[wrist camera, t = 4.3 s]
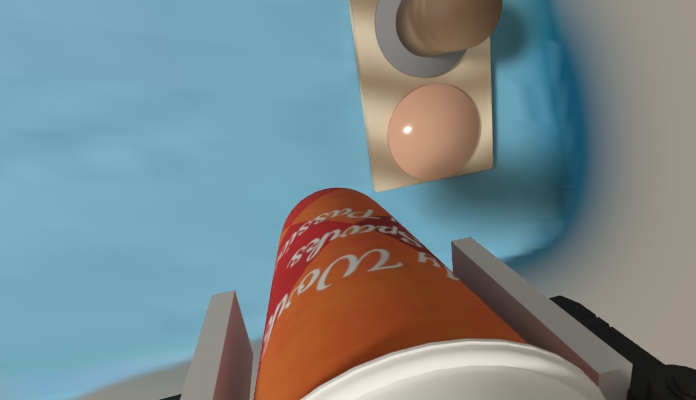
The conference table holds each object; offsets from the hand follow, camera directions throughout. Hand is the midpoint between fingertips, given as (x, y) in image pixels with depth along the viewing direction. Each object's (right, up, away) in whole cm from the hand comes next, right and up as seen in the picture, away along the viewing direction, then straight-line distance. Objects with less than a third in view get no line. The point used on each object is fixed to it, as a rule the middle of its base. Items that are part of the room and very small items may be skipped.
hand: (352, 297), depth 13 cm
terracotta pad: (+7, +9, +18) cm, 21 cm away
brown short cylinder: (+6, +17, +15) cm, 23 cm away
